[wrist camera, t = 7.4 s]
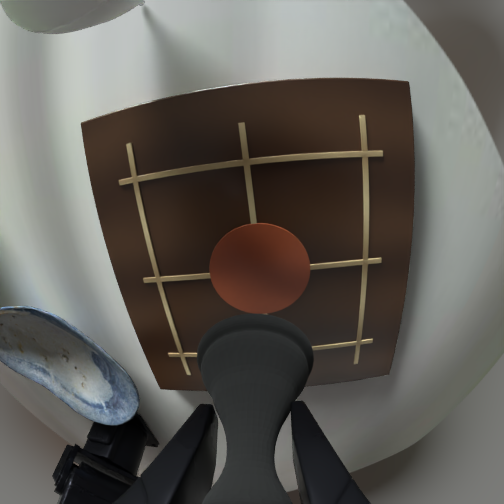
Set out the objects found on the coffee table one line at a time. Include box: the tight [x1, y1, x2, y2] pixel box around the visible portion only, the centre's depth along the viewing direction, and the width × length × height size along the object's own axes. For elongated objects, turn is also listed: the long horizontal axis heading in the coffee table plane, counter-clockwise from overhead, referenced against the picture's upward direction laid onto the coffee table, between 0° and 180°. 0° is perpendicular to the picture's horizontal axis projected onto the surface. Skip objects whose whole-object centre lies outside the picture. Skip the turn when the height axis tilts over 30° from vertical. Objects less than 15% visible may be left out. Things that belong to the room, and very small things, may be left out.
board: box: [81, 78, 415, 391], centre depth 17 cm, size 20×18×2 cm
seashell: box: [0, 306, 140, 425], centre depth 20 cm, size 15×12×5 cm
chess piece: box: [197, 314, 314, 504], centre depth 6 cm, size 4×4×10 cm
